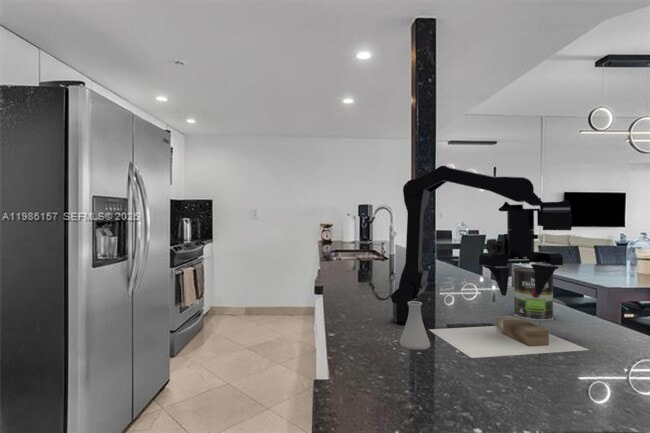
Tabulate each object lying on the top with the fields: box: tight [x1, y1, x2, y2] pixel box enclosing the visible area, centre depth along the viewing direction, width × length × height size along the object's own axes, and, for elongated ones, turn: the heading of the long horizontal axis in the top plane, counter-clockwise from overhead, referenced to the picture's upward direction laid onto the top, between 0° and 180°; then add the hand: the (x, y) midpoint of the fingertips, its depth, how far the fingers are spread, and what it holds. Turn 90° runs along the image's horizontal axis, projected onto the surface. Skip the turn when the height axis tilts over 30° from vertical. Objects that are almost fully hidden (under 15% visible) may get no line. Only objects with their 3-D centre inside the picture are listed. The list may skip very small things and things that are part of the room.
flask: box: [399, 300, 432, 350], centre depth 85 cm, size 7×7×10 cm
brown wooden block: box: [495, 315, 550, 347], centre depth 89 cm, size 12×5×4 cm, turn 10°
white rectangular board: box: [428, 325, 589, 359], centre depth 88 cm, size 28×20×1 cm
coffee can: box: [513, 267, 555, 321], centre depth 110 cm, size 10×10×14 cm
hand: (520, 294), depth 89 cm, fingers open, 9 cm apart
